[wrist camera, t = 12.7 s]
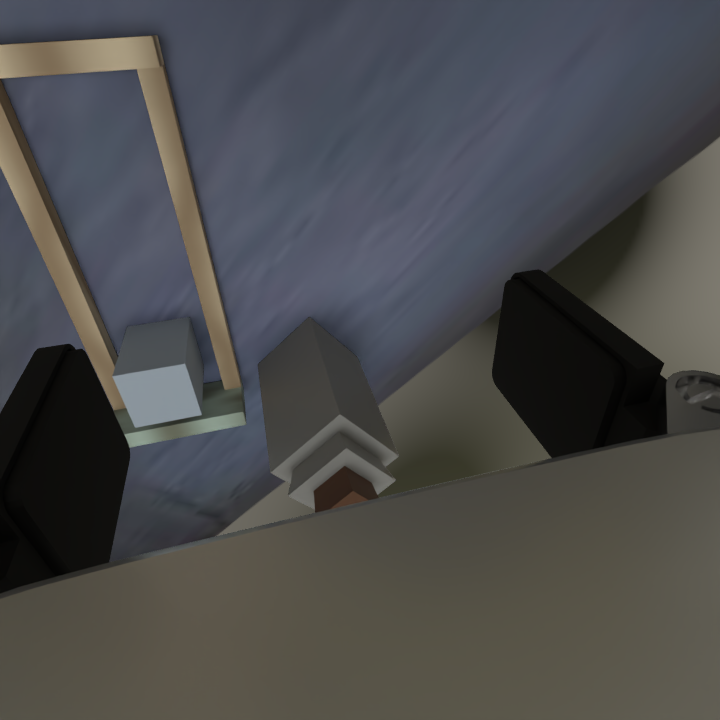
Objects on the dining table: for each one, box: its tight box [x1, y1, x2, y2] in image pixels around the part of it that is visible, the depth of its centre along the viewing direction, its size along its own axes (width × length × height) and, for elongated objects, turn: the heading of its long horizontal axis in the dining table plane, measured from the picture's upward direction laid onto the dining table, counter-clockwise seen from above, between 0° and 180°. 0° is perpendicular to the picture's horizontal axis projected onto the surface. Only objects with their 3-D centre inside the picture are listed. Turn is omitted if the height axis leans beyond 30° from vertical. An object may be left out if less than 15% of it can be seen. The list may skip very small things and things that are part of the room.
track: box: [0, 35, 246, 447], centre depth 34 cm, size 11×28×5 cm, turn 3°
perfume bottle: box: [258, 317, 399, 513], centre depth 38 cm, size 7×7×18 cm
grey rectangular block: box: [112, 317, 204, 428], centre depth 38 cm, size 5×5×7 cm
